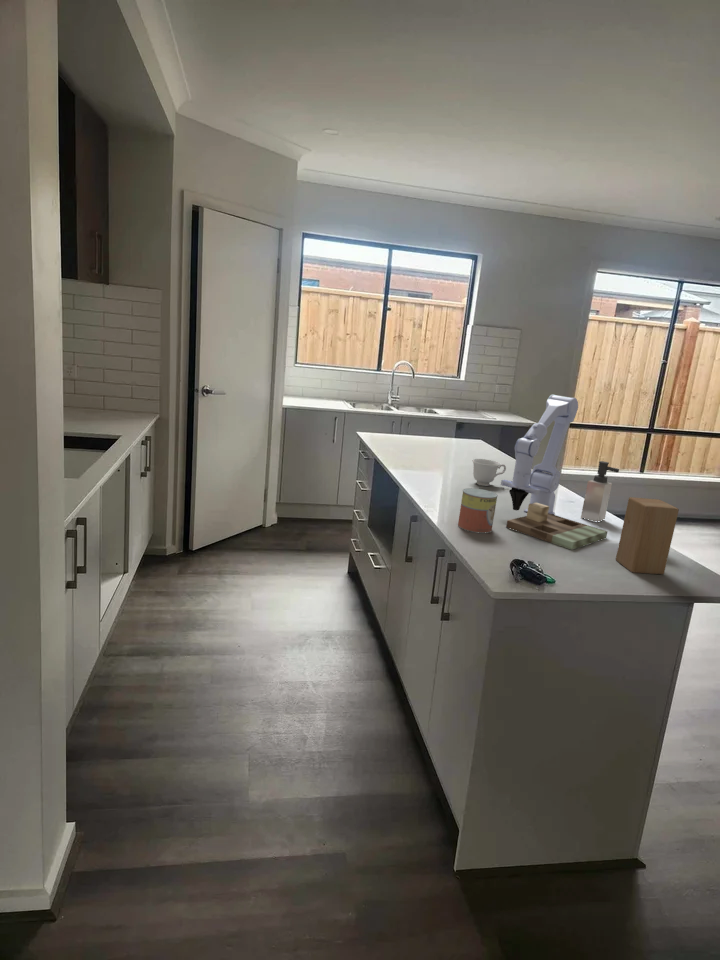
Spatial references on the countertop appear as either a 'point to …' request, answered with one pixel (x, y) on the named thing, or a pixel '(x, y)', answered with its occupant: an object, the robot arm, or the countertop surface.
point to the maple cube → (537, 512)
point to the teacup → (486, 471)
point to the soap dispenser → (597, 494)
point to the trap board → (558, 531)
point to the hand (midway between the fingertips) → (516, 509)
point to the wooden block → (646, 535)
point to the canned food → (477, 510)
